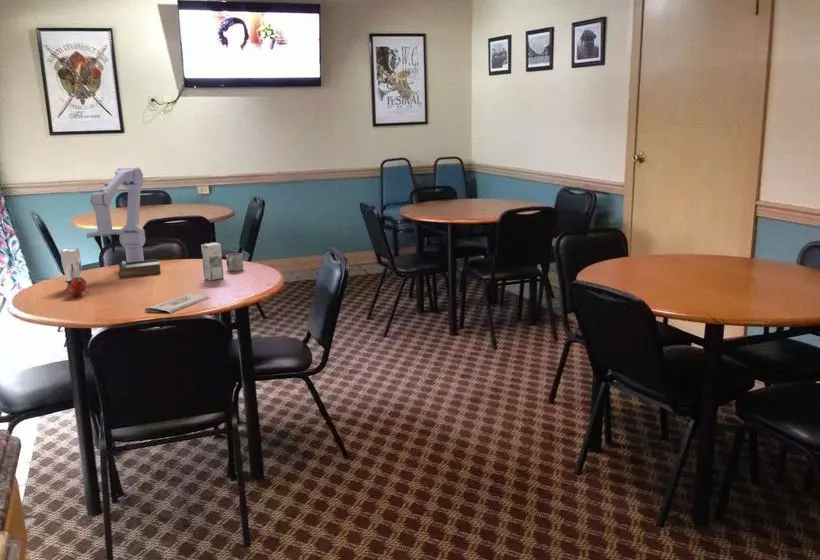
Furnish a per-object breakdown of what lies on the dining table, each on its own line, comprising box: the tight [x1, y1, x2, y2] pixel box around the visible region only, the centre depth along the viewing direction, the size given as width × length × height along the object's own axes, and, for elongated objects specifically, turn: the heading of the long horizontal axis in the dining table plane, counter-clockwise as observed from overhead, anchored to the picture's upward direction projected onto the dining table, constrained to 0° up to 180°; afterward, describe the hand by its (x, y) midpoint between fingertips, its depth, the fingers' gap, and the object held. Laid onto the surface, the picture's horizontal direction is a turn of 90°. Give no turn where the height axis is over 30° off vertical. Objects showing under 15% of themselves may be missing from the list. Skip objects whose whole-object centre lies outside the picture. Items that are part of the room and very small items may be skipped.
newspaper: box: [144, 292, 210, 314], centre depth 249 cm, size 23×12×2 cm, turn 159°
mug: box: [225, 252, 244, 272], centre depth 302 cm, size 10×7×7 cm
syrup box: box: [200, 242, 224, 281], centre depth 286 cm, size 6×6×14 cm
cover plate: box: [121, 260, 160, 268], centre depth 305 cm, size 11×15×3 cm
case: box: [118, 258, 161, 279], centre depth 306 cm, size 13×16×4 cm
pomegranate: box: [65, 276, 90, 297], centre depth 268 cm, size 7×7×10 cm
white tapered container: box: [60, 248, 82, 286], centre depth 282 cm, size 7×7×15 cm
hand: (108, 253), depth 300 cm, fingers open, 4 cm apart
